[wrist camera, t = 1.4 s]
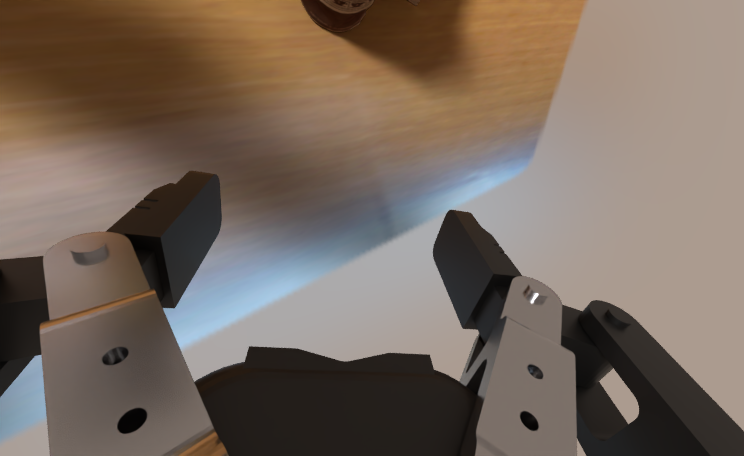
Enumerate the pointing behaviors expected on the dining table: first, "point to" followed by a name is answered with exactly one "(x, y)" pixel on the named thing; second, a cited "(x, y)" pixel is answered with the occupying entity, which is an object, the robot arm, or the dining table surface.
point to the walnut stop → (414, 1)
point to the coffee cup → (337, 13)
